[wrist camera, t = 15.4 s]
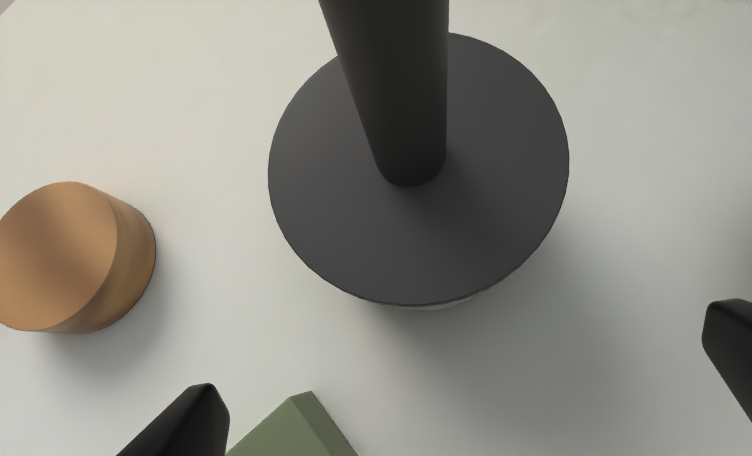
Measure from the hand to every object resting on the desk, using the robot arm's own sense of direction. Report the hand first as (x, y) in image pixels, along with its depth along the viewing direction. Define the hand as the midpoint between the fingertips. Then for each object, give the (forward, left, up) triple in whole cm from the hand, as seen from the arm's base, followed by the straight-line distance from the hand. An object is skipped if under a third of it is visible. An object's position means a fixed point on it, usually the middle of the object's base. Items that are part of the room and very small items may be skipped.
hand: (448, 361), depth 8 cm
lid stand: (-12, +17, -13) cm, 25 cm away
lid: (+4, +6, -6) cm, 10 cm away
